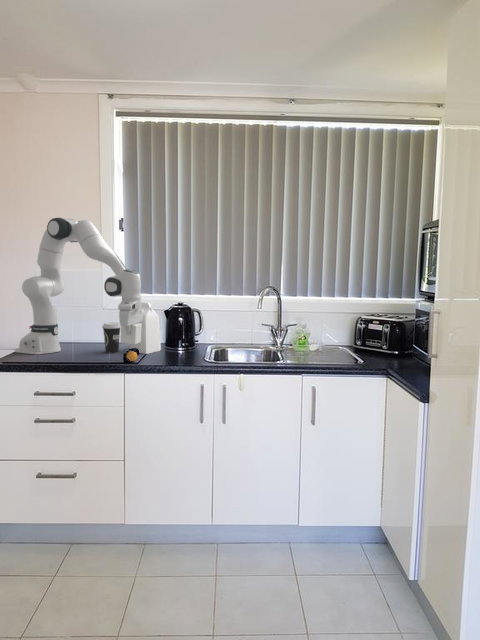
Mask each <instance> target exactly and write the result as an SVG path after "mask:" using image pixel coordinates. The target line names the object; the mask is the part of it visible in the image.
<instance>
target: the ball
mask: <svg viewBox="0 0 480 640" xmlns="http://www.w3.org/2000/svg"><path fill="white" fill-rule="evenodd" d="M127 358H128V359H129V360H130V361H129V360H128V359H127ZM126 359H127V360H128V361H129V362H131V361H133V362H136V360H137V359H138V354H137V352H134V351H128V352H127V353H126Z"/></svg>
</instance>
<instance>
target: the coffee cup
mask: <svg viewBox="0 0 480 640" xmlns="http://www.w3.org/2000/svg"><path fill="white" fill-rule="evenodd" d="M101 327H102V330H103V331H102V332H103V337H104V338H103V339H104V349H105V353H106V354H107V353H110V354H114V353H118V352H119V351H120V349H119V347H120V338H121V325H120V322H115V321H114V322H113V321H111V322H103V325H102V326H101Z"/></svg>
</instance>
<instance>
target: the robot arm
mask: <svg viewBox="0 0 480 640" xmlns="http://www.w3.org/2000/svg"><path fill="white" fill-rule="evenodd" d="M68 242H69V243H78V244H79V246H80V247H81V250H82V251H83V253H84V255H85V256H87V257H88V258H90V259H91V260H94V261H98V262H101V263H103V264H105V265H107V266H108V267H110V269H111V271H112V272H113V273H114V274H115V275H113V276H110V277H107V278H106V279H105V281H104V286H103V288H104V289H103V290H104V292H105V293H106V294H107V296H108V297H114V298H115V297H121V301H120V303H119V304H118V306H117V309H118V310H119V311H118V314H119V315H118V317H119V324H120V325H121V326H125V330H126V335H131V331H130V325H133V324H136V323H139V322H141V321H142V320H143V313H142V307H141V302H142V296H141V290H142V281H141V275H140V273H139V272H138V271H137V270H135V269H127V267H126V266H125V264H124V262H122V260H121V259H120V257H119V256H118V255H117V253H116V252H115V251H114V250H113V249H112V248H111V247H110V246H109V244H108V243H107V242H106V241H105V240H104V238H103V236H102V234H101V233H100V231H99V229H98V228H97V227H96V226H95V224H93V222H92V221H90V220H88V219H84V220H82V219H81V220H76V219H72V218H66V217H65V218H64V217H63V218H62V217H53V218H50V220H49V221H48V222H47V225H46V230H45V231H44V232H43V234H42V238H41V241H40V243H39V250H38V254H37V259H36V263H37V265H38V267H39V268H40V269H39V270H40V275H39V276H32V277H29V278H26V279H25V280H23V282H22V285H21V290H22V293H23V294H24V296H26V297H27V299H28V300H29V302H30V304H31V308H32V312H33V313H32V314H33V324H31V325H30V326H28V327H29V328H28V329H30V332H28V333H27V334H26V335H25V336H23V337H21V339H20V340H19V345H18V348H15V349H14V353H19V354H20V353H21V354H30V355H42V354H52V353H58V352H61V351H62V348H61V345H60V341H59V335H58V334H59V324H58V319H57V318H58V317H57V308H56V307H55V306H54V305H53V303H52V301H51V298H52V297H56V296H58V295H61V294H63V292H64V291H65V281H63V279H62V275H61V264H62V259H63V254H64V249H65V248H64V247H65V245H66V243H68Z"/></svg>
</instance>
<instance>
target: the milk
mask: <svg viewBox="0 0 480 640" xmlns="http://www.w3.org/2000/svg"><path fill="white" fill-rule="evenodd" d="M141 307H142V313H143V320H142V321H141V322H139V324H142V326H141V342H139V343H137V344H129V346H128V348H129V349H131V348H137V349H138V350H139V354H145V355H148V354H152V353H156V352H160V350H161V351H162V345H161V344H162V343H161V342H162V341H161V327H160V317H159V314H158V313H157V312H156V311H155V310H154V309H153V308H152V305H151V303H150V302H147V301H145V302H144V301H141ZM129 349H128V350H129Z"/></svg>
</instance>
